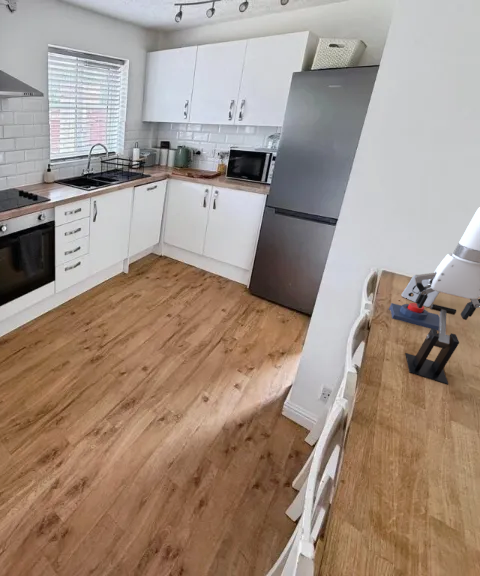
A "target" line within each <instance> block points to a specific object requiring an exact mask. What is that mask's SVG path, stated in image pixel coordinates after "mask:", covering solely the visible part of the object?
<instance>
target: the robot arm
mask: <svg viewBox="0 0 480 576" xmlns="http://www.w3.org/2000/svg"><path fill="white" fill-rule="evenodd" d="M415 275H416V276H415V281H416V286H417V288H418V289H419V291H420V293H419V295H418V297H417V299H416V301H415V302H414V303H416V304H417V306H418V308H422V306H423V307H424V303H425V301H426V299H427V297H428V296H427V294H428V293H431V292H433V291H437V292H440V293H442V294H445V295H449V296H455V297H458V298H463V299H468V300H470V301H468V302H467V303H466V304H465V306H464V307H463V309H462V310H461V313H460V317H461V319H463V320H465V321H467V320H468V318H471V317H472V316H473V314H474V313H475V311H476V310H477V309H479V308H480V206H479V207H478V208H477V209H476V211H475V213H474V214H473V216H472V218H471V220H470V221H469V224H468V225H467V227H466V229H465V231H464V233H463V235H462V236H461V238H460V240H459V242H458V243H457V245H456V247H455V249H454V251H453V252H448V253H447V254H446V255H445V256H444V257H443V259H442V260H441V261H440V263H439V264H438V265H437V267H436V269H435V270H434V271H433V272H430V273H422V274H415ZM427 279H430V280H429V285H426V286H423V284H422V280H427Z"/></svg>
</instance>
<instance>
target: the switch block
mask: <svg viewBox="0 0 480 576" xmlns="http://www.w3.org/2000/svg"><path fill="white" fill-rule="evenodd" d="M409 304H410V303H404V304H401V305H400V304H397V303H393V302H391V303H390V306H389V307H388V310H389V311H390V314H391V319H393V320H397V321H401V322H404V323H408V324H410V325H411V324H412V325H415V326H418V327H419V326H420V327H424V328H427V329H429V330H431V328H433V329H436V330H437V332H439V317H440V314H437V313H432V312H429V311H428V310H426V309H425V308H424V310H423V312H422V313H417V312H413V311H411V310H409V309H408V308H407V307H408V306H409Z"/></svg>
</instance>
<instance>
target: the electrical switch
mask: <svg viewBox="0 0 480 576" xmlns="http://www.w3.org/2000/svg"><path fill="white" fill-rule="evenodd" d="M416 275H417V274H414V275H413V276H412V277H411V278H410V280H409V282H408V284H407V285H406V287H405V288H404V290H403V291H402V293H401V297H402V298H404V299H406V298H407V299H406V300H409V301H411V302H413V303H416V302H415V301H416V299H417V297H418V295H419V293H420V291H419V289H418V288H417V286H416V281H415V276H416ZM429 280H430V279H427V280H422V284H423V286H426V285H429ZM440 293H441V292H437V291H433V292H431V293H428V294H427V296H428V297H427V299H426V301H425V303H424V305H423V307H425V308H431V305H432V304H434V303H435V301H436V299H437V297H438V296H439V294H440Z"/></svg>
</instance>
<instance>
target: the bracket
mask: <svg viewBox="0 0 480 576" xmlns="http://www.w3.org/2000/svg"><path fill="white" fill-rule="evenodd" d="M438 333H439V332H438V330H436V329H433V328H431V329H429V332H428V333H427V334H426V336H425V339H424V341H423V342H422V344H421V346H420V348H419V349H418V351H417V353H416V355H414V354H411V353H408V352H405V353H404V354H405V359H406V364H407V368H408V373H409V374H412V375H415V376H418V377H421V378H424V379H428V380H431V381H434V382H438V383H440V384H444V385H446V386H448V385H449V381H448V378H447V375H446V373H445V370H444V369H445V367H446V365H447V364H448V362H449V360H450V358H452V355H453V354H454V352H455V351H456V349H457V347H458V346H459V344H460V341H459V338H458V336H457V334H455V333H453V332H452V333H450V334H449V336H450V342H449V345H448V346H447V347H446V348H445V349H443V348H440V351H439V352H438V355H436V357H435V359H434V360H431V359H428V356H429V355H430V354H431V352H432V350H433V348H434V347H435V346H434V345H435V343H436V342H437V340H438V338H439V336H438Z"/></svg>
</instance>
